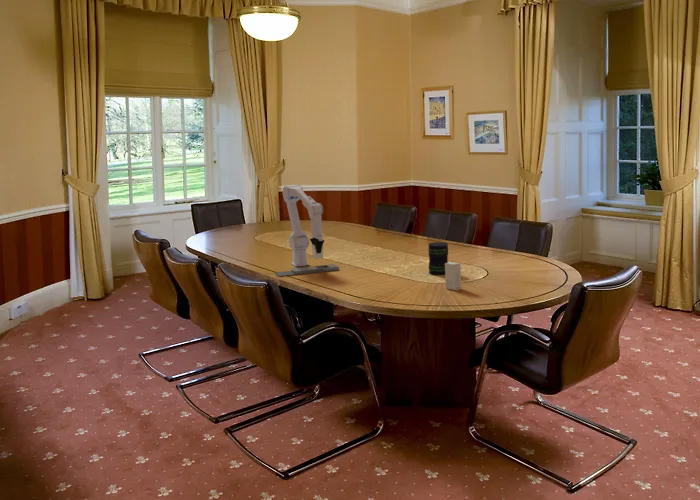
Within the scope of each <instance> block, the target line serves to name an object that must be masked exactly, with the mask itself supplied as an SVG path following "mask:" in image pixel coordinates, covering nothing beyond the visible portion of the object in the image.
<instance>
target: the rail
mask: <svg viewBox="0 0 700 500" xmlns="http://www.w3.org/2000/svg"><path fill="white" fill-rule="evenodd" d="M339 270H340V266H338V265H337V264H335V263H331V264H322V265H314V266H313V265H312V266H300V267H295V268H290V271H292V272H293V273H294V274H296V275H295V276H299V275H307V273H308V274H317V273H323V272H324V273H325V272H326V273H327V272H333V271H339ZM298 274H299V275H298Z"/></svg>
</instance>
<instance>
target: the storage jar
mask: <svg viewBox="0 0 700 500" xmlns="http://www.w3.org/2000/svg"><path fill="white" fill-rule="evenodd" d="M427 249H428V254H427V255H428V260H429V262H428V271H429V272H428V274H429V275H431V276H445V263H448V260H449V259H448V256H449V243H448V242H442V241H441V242H438V241H437V242H430V243H428V248H427Z"/></svg>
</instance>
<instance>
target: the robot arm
mask: <svg viewBox="0 0 700 500" xmlns="http://www.w3.org/2000/svg"><path fill="white" fill-rule="evenodd" d="M281 192H282V197H283V201H284V202H285V203H286V206H287V208H286V209H287V212H288V216H289V220H290V221H289V222H290V225H291V230H292V233H291V234H290V235H289V237H288V241H289V243H288V244H289V247H290V248H291V250H292V262H290V264H291V265H292V266H293V267H295V268H298V267H307V266H309V265H310V263H308V260H307V259H308V258H307V256H308V255H307V249H308V248H309V246H310V243H311V245H312V244H315V247H316V252H317V253H321V251H322V246H323V247H324V243H325V239H323V237H325V234H323V226H322V225H323V224H322V221H323V220H322V214H323V213H324V207H323V204H322V203H321V202H317V201H316V200H314V199H313V198H312V196H309V195H307V194H306V193H305V192H304V187H303V186H302V185H301V184H294V185H284V186H283V187H282V190H281ZM300 200H301V202H302V205H303V206H304V208H305V209H307V213H308V217H309V219H310V232H311V233H310V234H311V235H310V238H309V237H308V234H307V232H305V231H303V228H302V226H301V221H300V215H299V211H298V207H297V202H298V201H300Z"/></svg>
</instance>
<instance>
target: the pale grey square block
mask: <svg viewBox="0 0 700 500" xmlns="http://www.w3.org/2000/svg"><path fill="white" fill-rule="evenodd" d="M311 247H312V249H311V250H312V258H313V259H315V260H316V259H324V245H323V246H322V251H321V253H317V252H316V247H315V244H312V243H311Z"/></svg>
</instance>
